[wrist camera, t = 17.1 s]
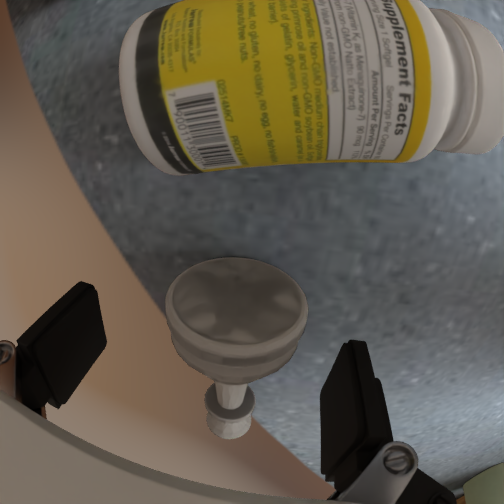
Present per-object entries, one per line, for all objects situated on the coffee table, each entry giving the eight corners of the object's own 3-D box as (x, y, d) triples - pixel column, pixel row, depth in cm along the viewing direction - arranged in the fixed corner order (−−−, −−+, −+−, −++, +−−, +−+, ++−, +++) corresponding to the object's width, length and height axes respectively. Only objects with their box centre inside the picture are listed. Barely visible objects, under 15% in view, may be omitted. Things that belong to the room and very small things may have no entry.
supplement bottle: (189, 48, 8) (425, 42, 7) (198, 174, 9) (443, 166, 8) (117, -15, 4) (489, -17, 2) (114, 185, 5) (536, 175, 3)
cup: (453, 489, 20) (460, 540, 12) (488, 466, 17) (499, 521, 9) (480, 482, 20) (488, 527, 12) (512, 459, 17) (524, 506, 9)
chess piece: (134, 312, 8) (174, 439, 13) (284, 376, 6) (249, 472, 12) (209, 243, 11) (210, 384, 16) (322, 277, 10) (278, 410, 15)
